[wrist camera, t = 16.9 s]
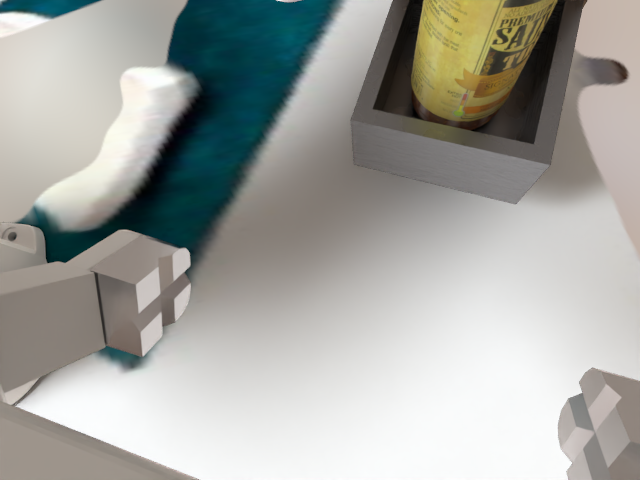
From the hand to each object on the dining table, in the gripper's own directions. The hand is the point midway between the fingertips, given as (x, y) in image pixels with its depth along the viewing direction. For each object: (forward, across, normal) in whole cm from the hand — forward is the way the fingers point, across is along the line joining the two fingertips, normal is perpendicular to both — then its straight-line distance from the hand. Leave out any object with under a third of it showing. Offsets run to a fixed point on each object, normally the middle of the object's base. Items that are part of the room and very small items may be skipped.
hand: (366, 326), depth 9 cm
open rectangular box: (+26, -2, 0) cm, 26 cm away
